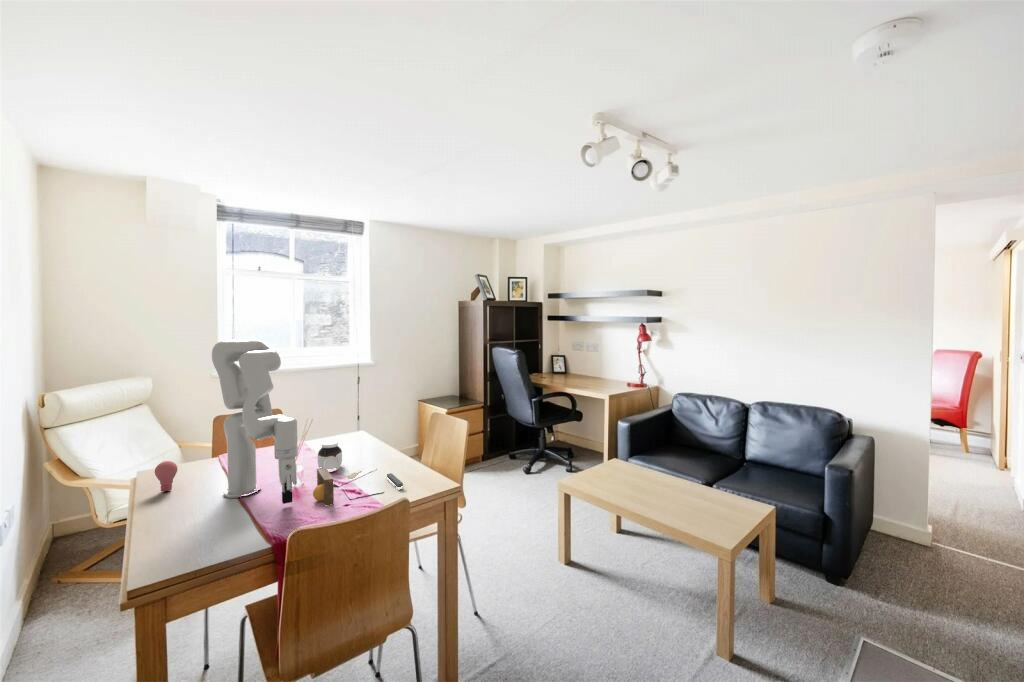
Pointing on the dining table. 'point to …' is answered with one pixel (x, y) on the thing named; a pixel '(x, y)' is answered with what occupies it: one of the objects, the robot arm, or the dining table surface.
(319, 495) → the ball
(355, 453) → the dining table surface
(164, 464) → the light bulb
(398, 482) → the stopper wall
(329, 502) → the bridge
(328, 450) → the spread jar
